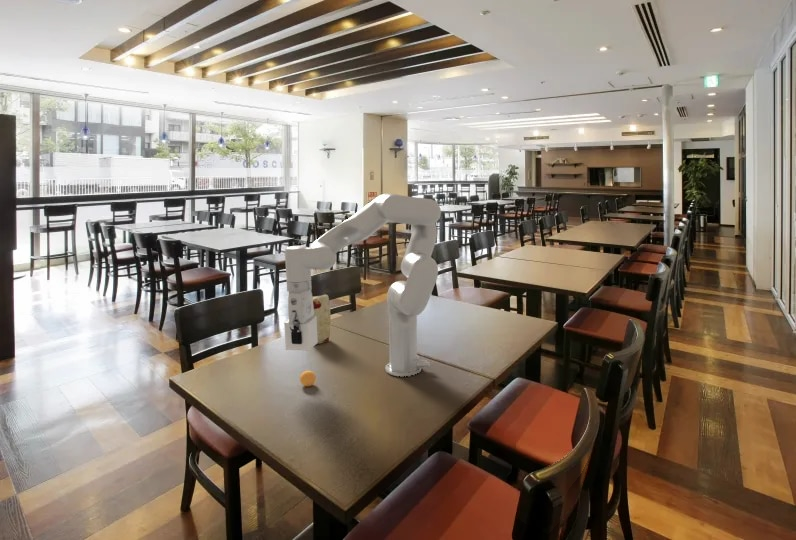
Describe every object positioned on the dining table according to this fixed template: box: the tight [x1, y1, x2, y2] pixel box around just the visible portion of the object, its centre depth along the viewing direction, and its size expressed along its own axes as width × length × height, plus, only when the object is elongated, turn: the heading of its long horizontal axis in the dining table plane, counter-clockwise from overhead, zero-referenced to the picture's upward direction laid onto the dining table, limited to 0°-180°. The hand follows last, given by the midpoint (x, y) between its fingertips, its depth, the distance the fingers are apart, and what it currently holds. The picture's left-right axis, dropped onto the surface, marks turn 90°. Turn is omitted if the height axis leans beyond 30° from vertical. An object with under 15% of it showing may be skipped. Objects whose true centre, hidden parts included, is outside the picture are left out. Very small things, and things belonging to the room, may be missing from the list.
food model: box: [312, 294, 332, 345], centre depth 186 cm, size 10×7×20 cm
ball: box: [299, 370, 317, 387], centre depth 148 cm, size 5×5×5 cm
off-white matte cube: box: [283, 316, 318, 352], centre depth 146 cm, size 8×8×9 cm
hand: (302, 338), depth 146 cm, fingers closed on off-white matte cube, 7 cm apart
